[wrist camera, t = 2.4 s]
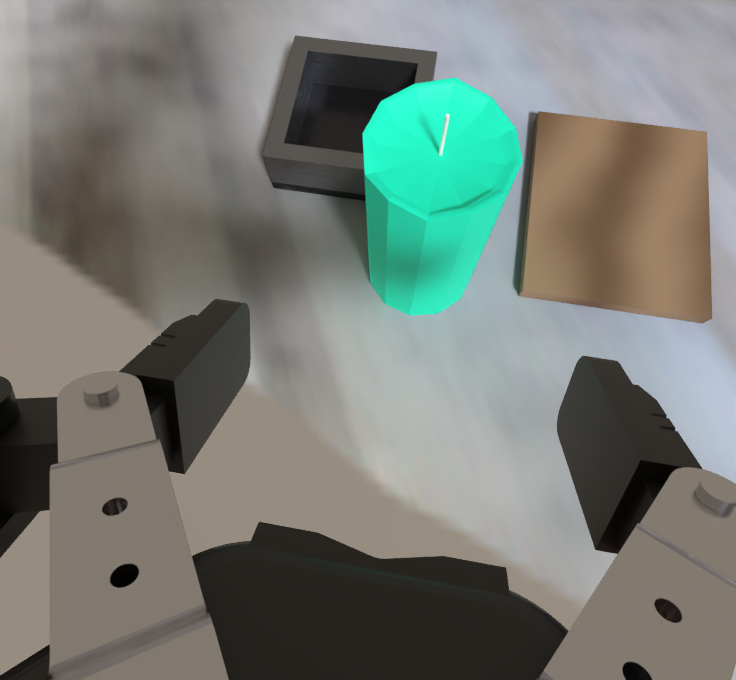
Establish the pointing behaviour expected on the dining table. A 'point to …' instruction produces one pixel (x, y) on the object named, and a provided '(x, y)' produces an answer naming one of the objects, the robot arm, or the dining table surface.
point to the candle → (434, 190)
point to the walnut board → (618, 217)
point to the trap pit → (334, 111)
